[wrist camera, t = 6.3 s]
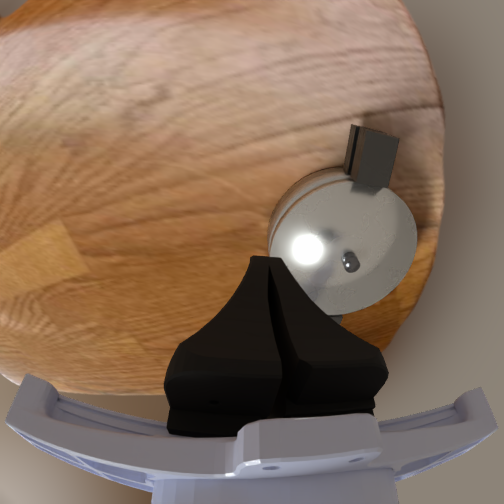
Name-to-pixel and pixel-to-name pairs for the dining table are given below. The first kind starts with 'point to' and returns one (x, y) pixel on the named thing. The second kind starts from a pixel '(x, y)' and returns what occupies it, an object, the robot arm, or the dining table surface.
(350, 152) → the pot
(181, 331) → the dining table surface
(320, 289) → the lid
